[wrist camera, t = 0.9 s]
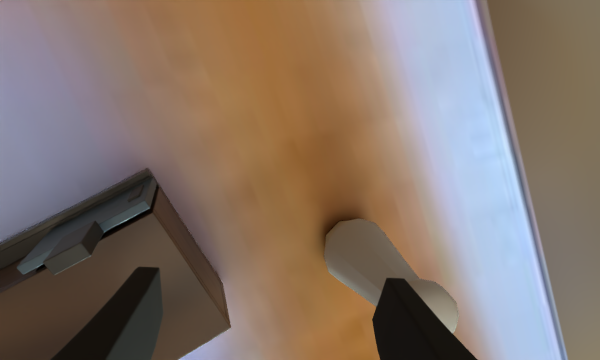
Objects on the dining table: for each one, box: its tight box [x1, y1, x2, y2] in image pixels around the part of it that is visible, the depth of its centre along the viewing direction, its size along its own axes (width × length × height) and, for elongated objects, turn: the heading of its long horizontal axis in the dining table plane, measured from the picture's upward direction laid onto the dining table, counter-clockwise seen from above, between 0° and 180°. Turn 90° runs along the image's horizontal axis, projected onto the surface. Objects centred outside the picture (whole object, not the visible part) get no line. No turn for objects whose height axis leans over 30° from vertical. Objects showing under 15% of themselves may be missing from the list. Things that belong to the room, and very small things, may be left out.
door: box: [17, 178, 157, 275], centre depth 22 cm, size 1×8×9 cm, turn 114°
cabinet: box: [0, 168, 231, 360], centre depth 25 cm, size 12×15×6 cm
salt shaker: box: [324, 218, 459, 334], centre depth 27 cm, size 6×6×13 cm
